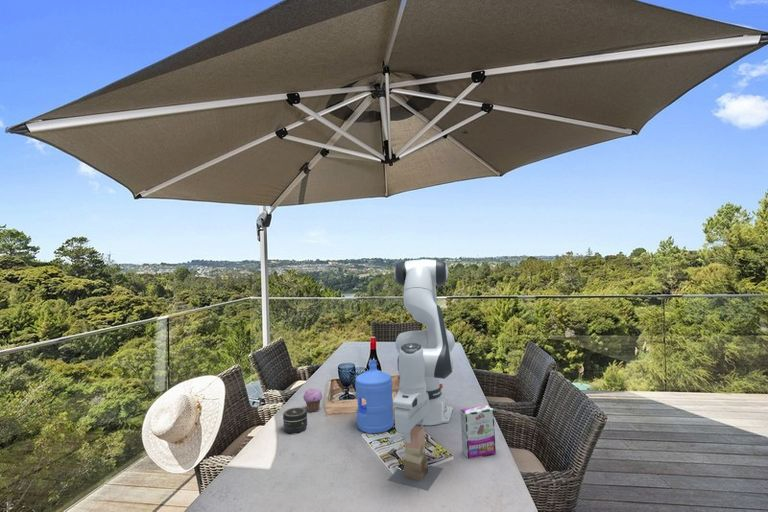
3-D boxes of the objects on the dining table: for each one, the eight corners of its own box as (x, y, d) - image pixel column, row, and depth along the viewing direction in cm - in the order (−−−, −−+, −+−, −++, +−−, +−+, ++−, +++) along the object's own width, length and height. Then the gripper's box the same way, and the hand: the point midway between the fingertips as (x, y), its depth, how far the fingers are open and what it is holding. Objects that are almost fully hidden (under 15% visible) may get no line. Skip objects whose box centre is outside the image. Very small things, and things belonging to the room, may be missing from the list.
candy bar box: (489, 448, 153) (487, 404, 153) (496, 454, 149) (494, 409, 148) (461, 453, 150) (459, 408, 150) (467, 459, 146) (466, 413, 145)
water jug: (395, 418, 183) (392, 355, 183) (392, 434, 168) (389, 365, 167) (360, 418, 185) (357, 356, 184) (354, 434, 169) (351, 366, 169)
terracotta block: (411, 439, 140) (410, 424, 140) (424, 442, 138) (424, 427, 138) (404, 446, 136) (404, 431, 136) (419, 449, 134) (418, 433, 133)
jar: (294, 436, 169) (293, 418, 169) (278, 431, 175) (277, 413, 175) (312, 427, 177) (311, 410, 177) (296, 422, 183) (295, 405, 183)
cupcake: (302, 408, 199) (301, 388, 199) (319, 405, 203) (318, 384, 202) (306, 415, 191) (305, 393, 191) (325, 411, 195) (324, 390, 194)
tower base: (411, 467, 141) (410, 453, 141) (427, 471, 138) (427, 456, 138) (404, 476, 136) (403, 461, 136) (420, 480, 133) (420, 465, 133)
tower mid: (411, 454, 140) (411, 439, 140) (425, 457, 138) (424, 442, 138) (405, 461, 136) (404, 446, 136) (419, 464, 134) (418, 449, 134)
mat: (405, 460, 147) (405, 459, 147) (443, 469, 140) (443, 468, 140) (387, 481, 134) (387, 480, 134) (427, 491, 128) (427, 490, 128)
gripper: (416, 383, 147) (418, 421, 148) (390, 403, 129) (392, 447, 129) (433, 385, 144) (434, 424, 145) (408, 406, 126) (410, 451, 127)
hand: (414, 435), depth 137 cm, fingers open, 8 cm apart
